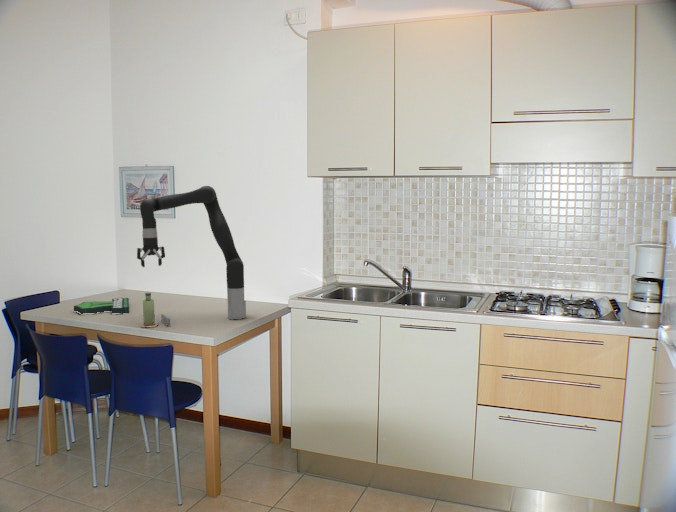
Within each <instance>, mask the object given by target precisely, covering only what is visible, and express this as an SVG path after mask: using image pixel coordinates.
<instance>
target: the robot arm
mask: <svg viewBox="0 0 676 512" xmlns="http://www.w3.org/2000/svg"><path fill="white" fill-rule="evenodd" d="M191 204H203V205H204V207H205V209H206V212H207V215H208V220H209V221H208V222H209V225H210V230H211V232H212V235H213V237H214V240H215V241H216V243H217V245H218V247H219V248H220V250H221V252H222V253H223V254H222V255H223V256H224V260H225V263H226V267H225V268H226V287H227V288H226V291H227V296H226V297H227V319H229V320H233V319H237V320H242V318H243V319H245V318H247V302H246V300H245V271H244V270H245V268H244V262H243V260H242V259H241V257H240V254H239V253H238V251H237V248H236V246H235V242H234V238H233V235H232V232H231V230H230V227H229V224H228V222H227V220H226V217H225V216H224V213H223V212H222V209H221V207H220V202H219V200H218V196H217V192H216V191H215V189H214V187H212V186H210V185H205V186H200V188H197V189H195V190H192V191H188V192H183V193H174V194H169V195H163V196H160V197H156V198H155V197H154V198H149V199H143V200H141V202H140V204H139V210H140V216H141V219H142V223H141V224H142V246H143V247H141V248H140V247H137V248H136V250H137V251H136V252H137V253H136V259H138V260H140V265H141V267H142V268H145V267H146V266H145V258H147V256H156V257H157V261H158V263H157V264H158V266H159V267H161V265H162V263H163V262H162V259H163V258H166V253H165V252H166V251H165V247H164V246H159V242H158V229H157V220H156V218H155V212H157V211H161V210H164V211H165V210H170V209H173V208H174V209H175V208H179V207H182V206H187V205H191ZM159 251H160V253H161V255H160V253H159ZM142 252H143V254H142V256H141V253H142Z"/></svg>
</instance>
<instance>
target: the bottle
mask: <svg viewBox="0 0 676 512" xmlns="http://www.w3.org/2000/svg"><path fill="white" fill-rule="evenodd" d="M151 295H152V293H151V292H145V293H144V296H145V299H143V300H142V312H143V313H142V317H143V318H142V319H143V324H144V326H153V325H155V323H156V319H155V318H156V317H155V316H156V315H155V299H153V298H152V296H151Z"/></svg>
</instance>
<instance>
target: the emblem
mask: <svg viewBox="0 0 676 512" xmlns="http://www.w3.org/2000/svg"><path fill="white" fill-rule="evenodd" d="M74 311H78V312H80V313H81V314H83V313H97V312H104V311H112V312H111V314H112V313H128V314H130V298H129V297H124V298H123V297H114V298H112V299H111V301H84V302H82V303H79V304H75V305H73V312H74Z"/></svg>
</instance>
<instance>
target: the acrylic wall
mask: <svg viewBox="0 0 676 512" xmlns="http://www.w3.org/2000/svg"><path fill="white" fill-rule="evenodd" d="M160 318H161V321H160V322H162V321H163V322H164V323H165V324H167V325H168V326H170V327H171V318H169V317H168V316H166V315H165V314H164V313H161V314H160ZM163 322H162V323H163ZM164 323H163V324H164ZM165 324H164V325H165ZM167 325H166V326H167ZM168 326H167V327H168Z"/></svg>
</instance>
